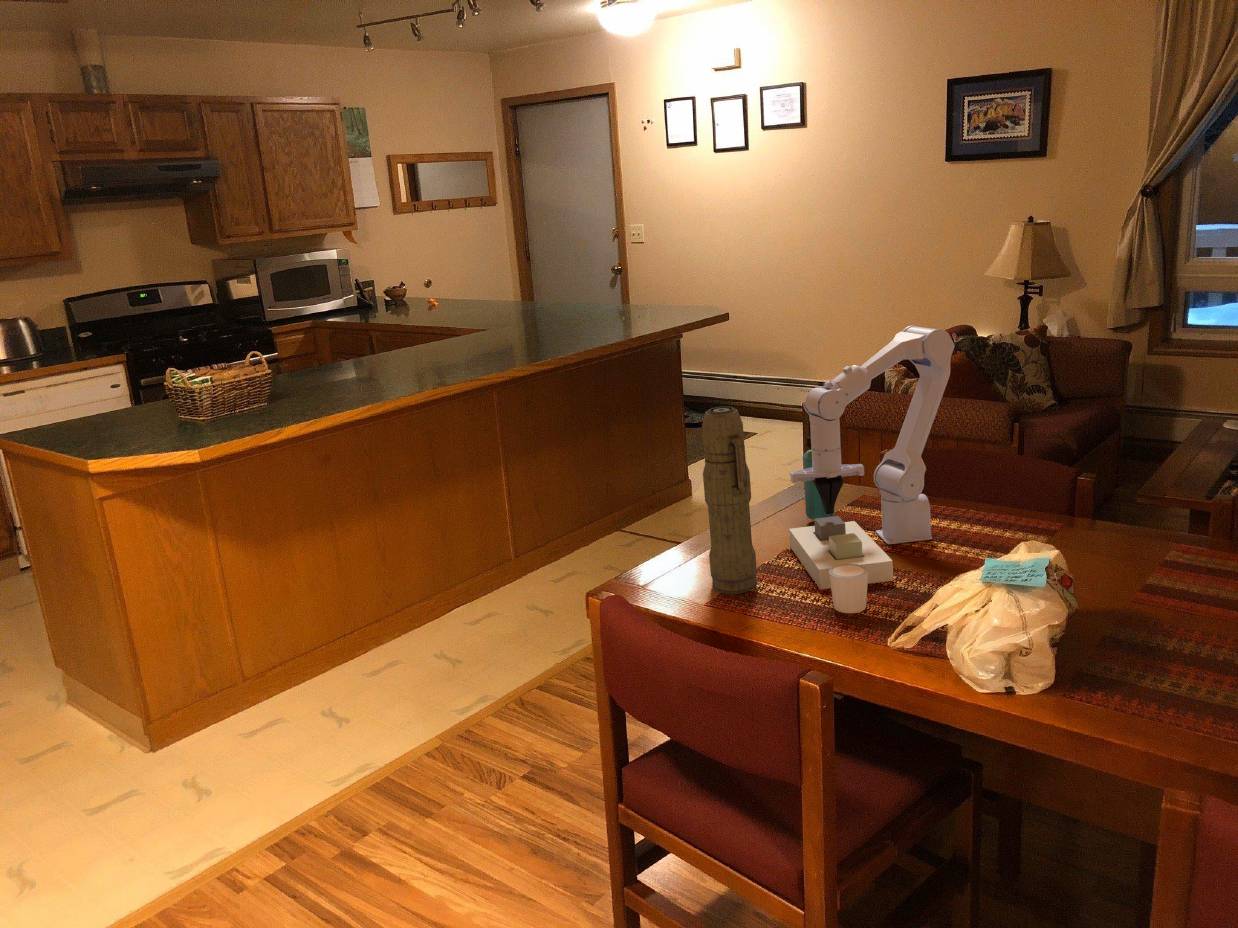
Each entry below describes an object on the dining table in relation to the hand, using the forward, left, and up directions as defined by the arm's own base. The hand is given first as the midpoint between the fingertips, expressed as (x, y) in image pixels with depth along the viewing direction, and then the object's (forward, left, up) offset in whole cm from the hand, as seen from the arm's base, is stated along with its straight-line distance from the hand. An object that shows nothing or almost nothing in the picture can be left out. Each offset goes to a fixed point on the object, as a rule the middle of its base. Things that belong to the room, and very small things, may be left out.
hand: (828, 512), depth 198 cm
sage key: (0, +11, -5) cm, 12 cm away
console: (0, +5, -9) cm, 10 cm away
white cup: (+4, +26, -9) cm, 28 cm away
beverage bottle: (-3, -20, -9) cm, 22 cm away
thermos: (+22, +10, -9) cm, 26 cm away
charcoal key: (0, 0, -5) cm, 5 cm away
